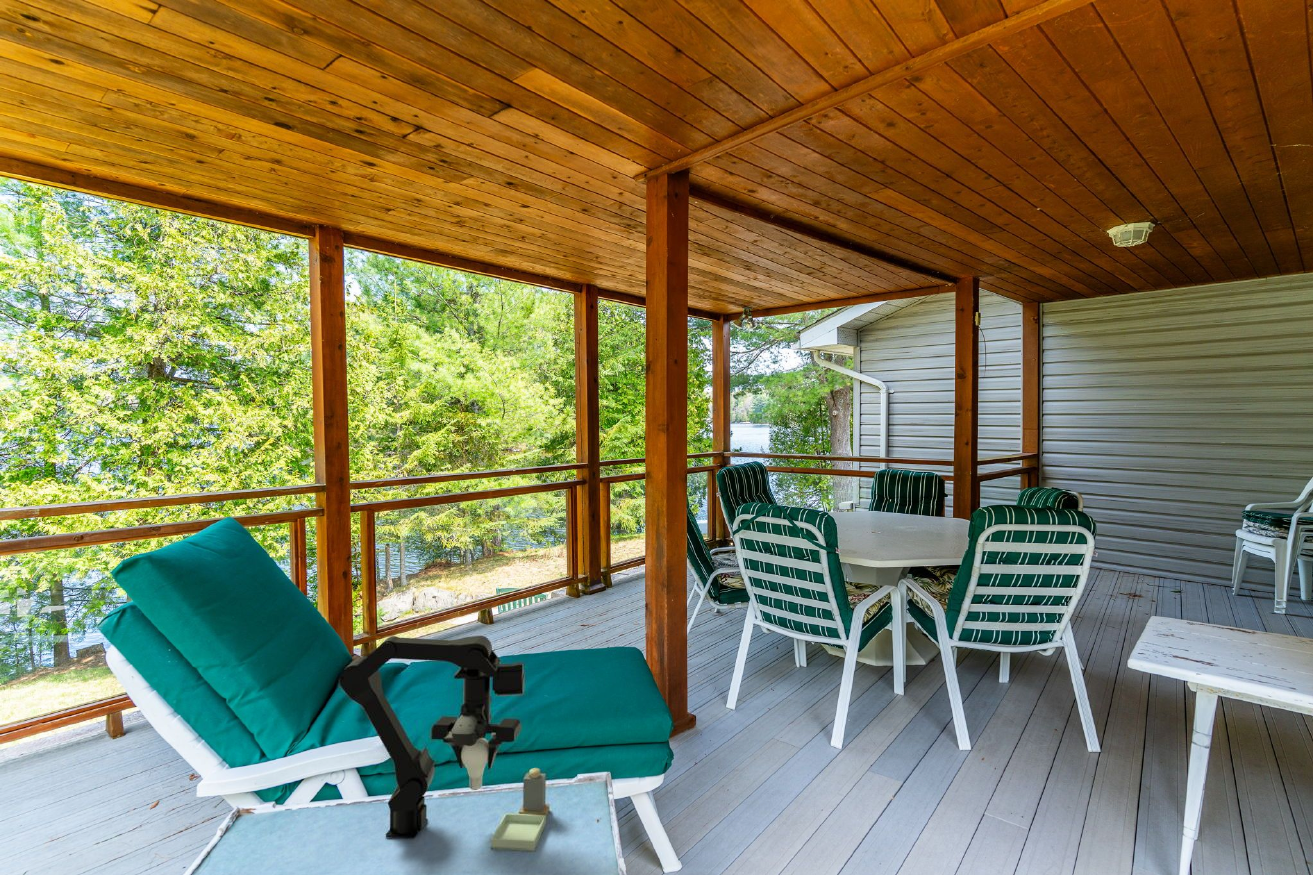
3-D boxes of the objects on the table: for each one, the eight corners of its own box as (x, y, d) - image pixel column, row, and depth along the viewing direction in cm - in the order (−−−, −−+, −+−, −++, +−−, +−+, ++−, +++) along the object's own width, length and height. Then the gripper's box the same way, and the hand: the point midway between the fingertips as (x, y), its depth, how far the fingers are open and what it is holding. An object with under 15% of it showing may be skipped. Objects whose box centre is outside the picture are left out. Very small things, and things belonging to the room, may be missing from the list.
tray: (490, 849, 123) (490, 839, 123) (505, 822, 132) (505, 813, 132) (534, 851, 123) (534, 841, 123) (545, 824, 132) (545, 815, 132)
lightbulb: (482, 798, 128) (482, 746, 129) (455, 795, 130) (455, 743, 130) (495, 782, 135) (496, 733, 135) (469, 779, 136) (470, 730, 136)
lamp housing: (518, 818, 134) (519, 774, 134) (523, 809, 137) (524, 766, 138) (545, 819, 133) (545, 775, 134) (549, 810, 137) (549, 767, 137)
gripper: (419, 710, 126) (417, 786, 125) (506, 713, 124) (505, 789, 123) (442, 689, 137) (441, 759, 136) (522, 692, 135) (521, 762, 135)
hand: (476, 768), depth 132 cm, fingers closed on lightbulb, 6 cm apart
